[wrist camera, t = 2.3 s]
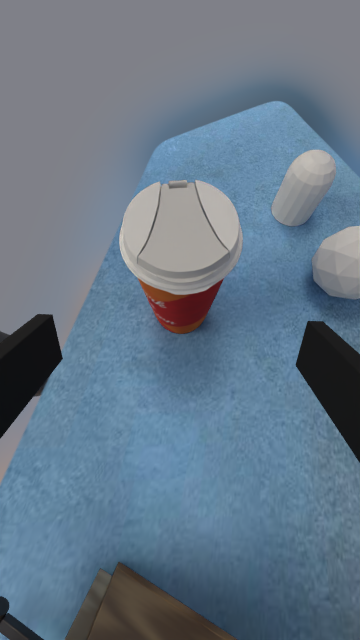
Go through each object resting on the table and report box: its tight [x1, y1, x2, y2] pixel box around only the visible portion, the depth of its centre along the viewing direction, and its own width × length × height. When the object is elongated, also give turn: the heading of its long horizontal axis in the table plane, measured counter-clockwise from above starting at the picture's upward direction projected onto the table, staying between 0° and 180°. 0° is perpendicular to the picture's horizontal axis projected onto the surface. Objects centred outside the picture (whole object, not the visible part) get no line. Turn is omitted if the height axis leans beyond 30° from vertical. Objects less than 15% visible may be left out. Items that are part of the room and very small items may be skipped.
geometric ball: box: [312, 226, 360, 300], centre depth 27 cm, size 8×8×8 cm
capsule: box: [271, 150, 336, 226], centre depth 30 cm, size 5×5×8 cm
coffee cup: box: [119, 180, 243, 334], centre depth 22 cm, size 8×8×15 cm
